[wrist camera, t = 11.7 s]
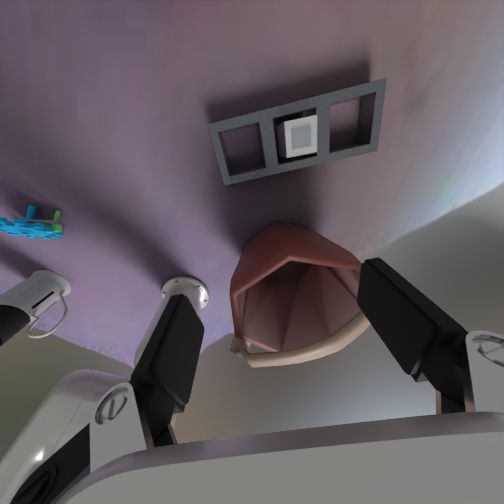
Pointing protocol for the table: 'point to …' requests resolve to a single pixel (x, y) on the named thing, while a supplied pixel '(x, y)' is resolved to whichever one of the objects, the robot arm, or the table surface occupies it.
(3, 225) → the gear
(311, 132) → the white slotted box
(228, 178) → the grey compartment tray
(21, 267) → the table surface
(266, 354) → the bucket
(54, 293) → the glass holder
